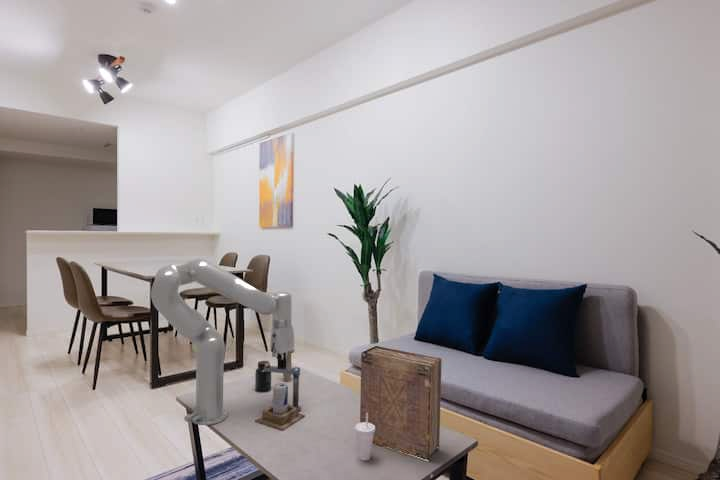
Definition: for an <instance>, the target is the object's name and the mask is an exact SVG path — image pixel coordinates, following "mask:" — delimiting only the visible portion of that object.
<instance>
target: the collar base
mask: <svg viewBox="0 0 720 480" xmlns="http://www.w3.org/2000/svg"><path fill="white" fill-rule="evenodd" d="M292 378H293V379H292V380H293V381H292V405H289V404H288V407H287V413H285V414H284V415H278V414H275V413H273V405H271V406H270V407H268V408H266V409H264V410H262V412H261V413H262V414H261V416H260V417H258V418H256V419H255V420H254V422H255V423H258V424H259V425H262V426H266V427H269V428H272V429H275V430H279V431H281V432H284V431H285V430H287V429H289V428H290V427H291V426H293V425H295V424H296V423H298V422H299V421H301V420H302V419H304V418H305V417H306V415H305V414H302V413H301V411H302V407H301V406H299V403H300V402H299V401H300V398H299V396H300V395H299V394H300V393H299V391H300V375H299V376H293V375H292Z"/></svg>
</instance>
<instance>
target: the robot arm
mask: <svg viewBox="0 0 720 480" xmlns="http://www.w3.org/2000/svg"><path fill="white" fill-rule="evenodd" d="M192 283H198V284H199V285H201V286H203V287H205V288H207V289H209V290H211V291H214V292H216V293H217V294H220V295H221V296H224V297H226V298H227V299H229V300H231V301H233V302H236V303H238V304H239V305H240V304H241V306H244V307H245V308H247V309H250V310H252V311H253V312H256V313H258V314H260V315H263V316H270V315H272V317H271V318H272V323H271V324H272V328H271V333H270V342H269V343H270V345H269V346H270V348H269V349H270V352H271V357H272V358H276V360H277V367H285V368H286V358H287V356H288V352H290V351H291V350H292V349H293V348H294V349H295V333H294V328H293V327H294V326H293V324H292V294H291V293H290V292H288V291H277V292H263V291H261V290H259V289H257V288H255V287H254V286H252V285H250V284H249V283H247V282H245V281H244V280H243V279H241V278H240V277H238V276H236V275H235V274H232V272H230V271H228V270H225V269H223V268H222V267H219V266H218V265H217V264H213V263H212V262H210V261H208V260H206V259H205V258H196V259H192V260H188V261H184V262H179V263H173V264H169V265H165V266H162V267H160V268H159V269H158V270H157V271H156V274H155V277H154V281H153V283H152V286H151V290H150V295H151V296H150V297H151V301H152V304H153V306H154V308H155V309H156V310H157V311H158V312H159V313H160V314H161V316H163V318H164V319H165V320H166V321H167V322H168V323H169V324H170V325H171V326H172V327H173V328H174V329H175V330H176V331H177V333H178V334H179V335H180V336H181V337H182V338H185V339H187V340H188V341H189V342H190V343H191V344H193V346H194V347H195V348H196V369H195V372H196V374H195V376H196V377H195V378H196V379H195V380H196V381H195V384H196V385H195V408H193V411H192V412H191V413H190V414H187V415H185V416H184V421H185V422H189V421H191V422H192V423H193V424H195V425H198V426H210V425H215V424H218V423H222V422H223V421H224V420H226V419H227V417H228V411H227V410H226V408H225V409H224V368H225V367H224V366H225V365H224V364H225V354H226V353H225V352H226V346H225V345H226V344H225V341H224V339H223V337H222V336H221V334H220V333H219V331H218V330H217V329H216V328H215V327H214V326H213V325H212V324H211V323H210V322H209V321H208V320H207V319H206V318H205V317H204V315H203V314H201V313H200V312H199V311H198V310H197V309H195V308H191V307H190V305H188V303H187V302H186V301H185V300H184V298H182V297H181V296H180V293H179V288H180V286H183V285H188V284H192Z"/></svg>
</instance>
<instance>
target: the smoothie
mask: <svg viewBox="0 0 720 480" xmlns="http://www.w3.org/2000/svg"><path fill="white" fill-rule="evenodd" d="M354 431H355V434H356V436H355V437H356V443H357V453H358V459H359V460H360V461H368V460H370V459H371V456H372V449H373V444H374V443H373V437H374V432H375V426H374V425H373V424H371V423H368V413H366V422H362V423H360V422H358V423H357V424H356V425H355V427H354Z"/></svg>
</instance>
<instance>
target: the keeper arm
mask: <svg viewBox="0 0 720 480" xmlns="http://www.w3.org/2000/svg"><path fill="white" fill-rule="evenodd" d="M264 371H267V372H271V373H278V374H283V373H285V374H291V376H292V377H293V376H299V377H300V376H301V368H300V367H298V366H297V367H296V366H295V367H292V368H285V367H278V366H274V365H271V363H270V362H269V363H265V367H264Z"/></svg>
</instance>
